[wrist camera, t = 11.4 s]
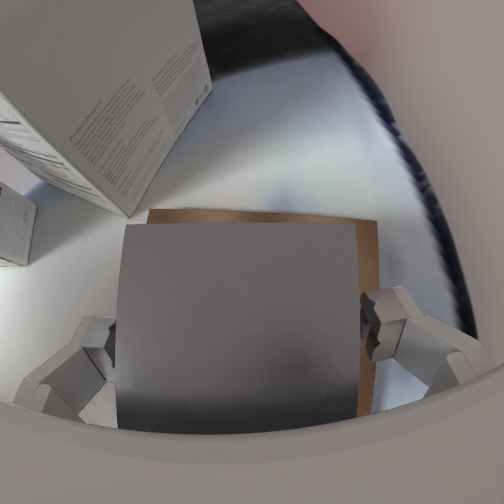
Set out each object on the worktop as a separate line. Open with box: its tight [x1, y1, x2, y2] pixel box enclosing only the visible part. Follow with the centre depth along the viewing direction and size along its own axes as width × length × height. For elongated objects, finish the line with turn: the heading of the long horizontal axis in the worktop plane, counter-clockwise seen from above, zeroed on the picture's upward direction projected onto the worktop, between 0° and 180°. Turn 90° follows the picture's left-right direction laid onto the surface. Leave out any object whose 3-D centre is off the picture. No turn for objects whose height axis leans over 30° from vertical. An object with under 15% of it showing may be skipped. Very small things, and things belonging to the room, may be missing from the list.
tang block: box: [147, 209, 379, 418], centre depth 14 cm, size 14×14×6 cm
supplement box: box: [0, 0, 213, 219], centre depth 13 cm, size 13×13×18 cm
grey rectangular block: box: [115, 223, 360, 435], centre depth 11 cm, size 6×6×9 cm
